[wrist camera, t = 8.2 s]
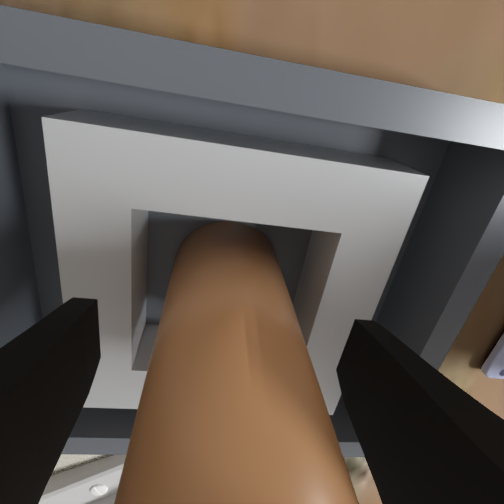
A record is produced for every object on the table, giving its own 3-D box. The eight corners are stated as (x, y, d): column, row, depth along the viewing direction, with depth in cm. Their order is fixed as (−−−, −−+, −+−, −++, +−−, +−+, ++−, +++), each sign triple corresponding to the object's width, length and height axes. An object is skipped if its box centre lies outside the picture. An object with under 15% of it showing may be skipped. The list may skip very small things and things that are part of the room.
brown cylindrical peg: (286, 227, 12) (415, 500, 4) (267, 313, 14) (332, 620, 6) (177, 214, 12) (86, 504, 4) (171, 306, 13) (102, 637, 5)
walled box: (481, 109, 11) (580, 119, 8) (358, 391, 17) (388, 457, 14) (-34, 10, 9) (-168, -29, 6) (34, 377, 15) (-14, 453, 12)
